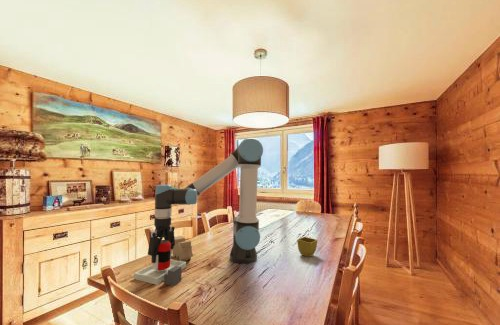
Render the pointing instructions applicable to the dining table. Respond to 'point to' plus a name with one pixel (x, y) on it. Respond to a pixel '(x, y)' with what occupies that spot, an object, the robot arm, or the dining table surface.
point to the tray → (156, 272)
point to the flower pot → (307, 246)
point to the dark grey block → (173, 276)
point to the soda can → (164, 255)
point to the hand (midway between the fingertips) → (161, 265)
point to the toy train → (182, 249)
